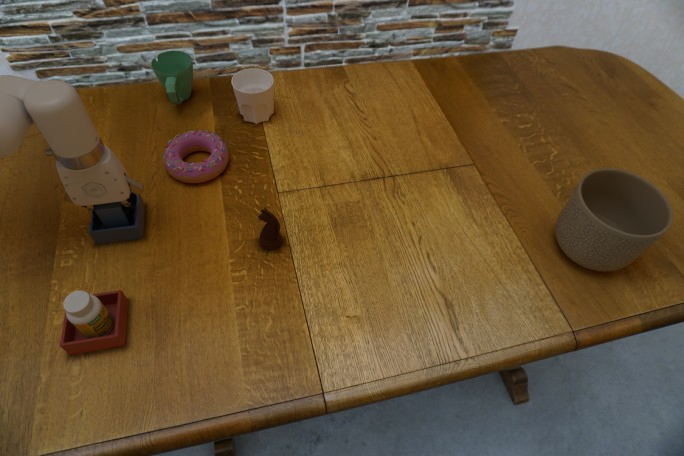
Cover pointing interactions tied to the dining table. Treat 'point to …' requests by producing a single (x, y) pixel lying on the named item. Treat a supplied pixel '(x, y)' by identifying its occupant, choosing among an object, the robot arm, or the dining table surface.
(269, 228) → the chess piece
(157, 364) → the dining table surface
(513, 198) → the dining table surface
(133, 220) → the blue bin
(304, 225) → the dining table surface
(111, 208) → the blue block
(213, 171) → the donut
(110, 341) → the red bin
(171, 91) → the mug
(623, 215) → the planter
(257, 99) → the cup
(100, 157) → the robot arm
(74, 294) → the supplement bottle
